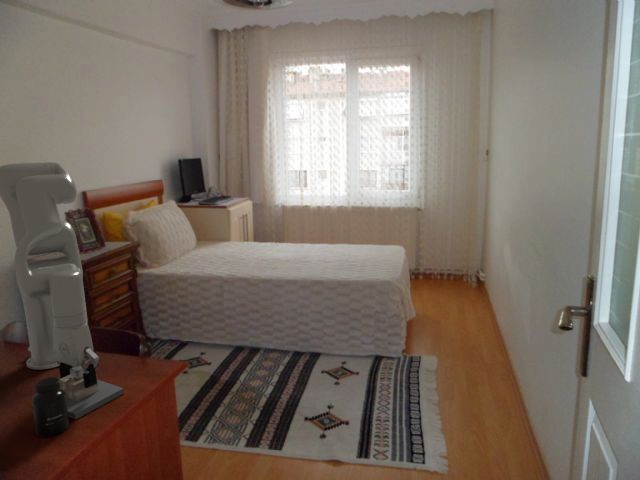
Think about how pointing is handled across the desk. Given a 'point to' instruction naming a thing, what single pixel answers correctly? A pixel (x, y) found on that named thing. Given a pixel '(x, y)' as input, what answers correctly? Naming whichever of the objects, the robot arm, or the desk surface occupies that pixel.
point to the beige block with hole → (76, 388)
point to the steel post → (76, 373)
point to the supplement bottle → (50, 408)
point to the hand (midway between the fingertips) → (78, 381)
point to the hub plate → (93, 400)
